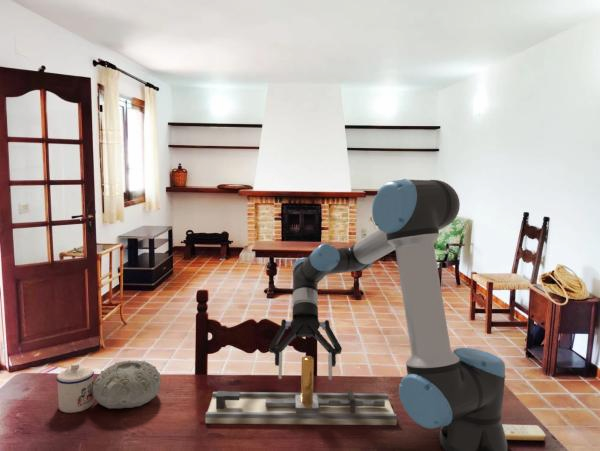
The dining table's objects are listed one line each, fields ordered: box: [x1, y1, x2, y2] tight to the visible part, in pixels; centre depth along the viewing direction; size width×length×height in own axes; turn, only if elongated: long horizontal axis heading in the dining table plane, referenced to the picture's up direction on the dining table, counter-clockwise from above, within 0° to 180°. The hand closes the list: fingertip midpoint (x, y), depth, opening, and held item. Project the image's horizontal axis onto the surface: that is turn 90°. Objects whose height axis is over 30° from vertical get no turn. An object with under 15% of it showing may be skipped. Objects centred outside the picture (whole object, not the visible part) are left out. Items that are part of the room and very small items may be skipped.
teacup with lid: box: [55, 362, 95, 414], centre depth 128 cm, size 12×9×12 cm
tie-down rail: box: [205, 390, 398, 426], centre depth 126 cm, size 49×12×5 cm, turn 91°
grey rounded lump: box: [92, 360, 162, 410], centre depth 130 cm, size 18×18×10 cm
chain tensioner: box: [265, 355, 385, 412], centre depth 126 cm, size 32×7×13 cm, turn 91°
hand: (305, 377), depth 127 cm, fingers open, 13 cm apart
